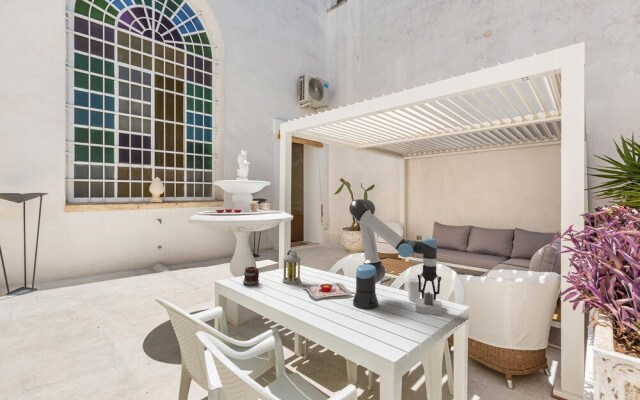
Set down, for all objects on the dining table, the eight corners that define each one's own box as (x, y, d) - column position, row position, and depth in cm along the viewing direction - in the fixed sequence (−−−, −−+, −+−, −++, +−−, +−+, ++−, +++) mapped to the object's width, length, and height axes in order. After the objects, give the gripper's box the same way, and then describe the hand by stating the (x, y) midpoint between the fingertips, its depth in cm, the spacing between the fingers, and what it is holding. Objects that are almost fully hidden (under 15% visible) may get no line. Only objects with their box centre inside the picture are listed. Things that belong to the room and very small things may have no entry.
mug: (252, 280, 233) (254, 261, 231) (263, 287, 224) (265, 267, 222) (239, 282, 225) (241, 263, 223) (249, 290, 215) (252, 270, 213)
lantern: (278, 281, 231) (279, 249, 231) (293, 278, 241) (293, 247, 241) (289, 285, 221) (290, 251, 221) (304, 282, 230) (305, 249, 230)
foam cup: (422, 303, 187) (422, 282, 187) (407, 302, 189) (407, 281, 189) (420, 298, 196) (420, 278, 196) (405, 297, 198) (406, 277, 198)
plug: (424, 306, 176) (425, 292, 176) (425, 304, 179) (425, 290, 179) (432, 307, 174) (432, 293, 174) (432, 305, 178) (432, 291, 178)
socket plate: (415, 311, 173) (415, 305, 173) (416, 303, 186) (416, 298, 186) (441, 315, 168) (441, 309, 168) (441, 307, 181) (441, 301, 181)
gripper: (413, 264, 176) (413, 304, 177) (445, 267, 170) (444, 309, 171) (414, 262, 183) (413, 300, 184) (445, 265, 177) (444, 304, 178)
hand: (428, 304), depth 177 cm, fingers closed on plug, 4 cm apart
